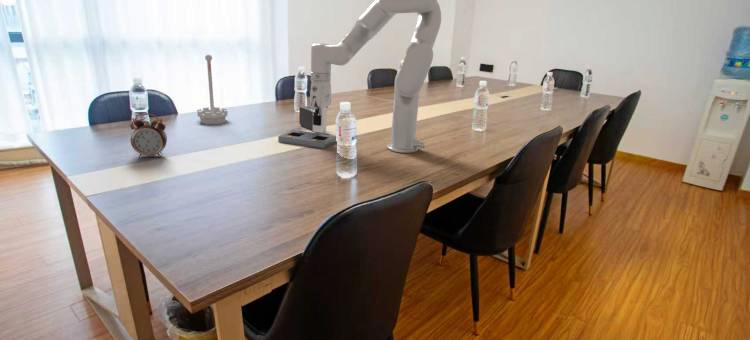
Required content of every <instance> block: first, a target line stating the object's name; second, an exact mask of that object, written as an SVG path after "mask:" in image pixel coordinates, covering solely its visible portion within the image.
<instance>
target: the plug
mask: <svg viewBox="0 0 750 340" xmlns="http://www.w3.org/2000/svg"><path fill="white" fill-rule="evenodd" d="M316 107H318V106H316ZM317 110H318V109H317ZM312 113H313V112H312ZM327 113H328V108H327V107H324V108H321V113H320V115H321V125H320V126H318V125H313V131H312V133H317V132H319V134H323V133H324V132H326V131H327V115H328V114H327Z"/></svg>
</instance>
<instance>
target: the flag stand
mask: <svg viewBox="0 0 750 340" xmlns="http://www.w3.org/2000/svg"><path fill="white" fill-rule="evenodd" d="M204 58H205V60H206V61H207V62H206V63H207V65H206V66H207V67H206V68H207V77H208V78H207V79H208V91H209V104H210V105H209V107H210V108H209V107H203V108H202V109H201V108H197V109H196V113H197V117H198V118H199V121H200V123H201V124H205V125H217V124H223V123H225V122H226V117H227V116H228V110H227V108H226V107H222V108H221V109H220V106H219V107H217V106H215V105H214V89H213V77H212V76H213V75H212V73H213V72H212V62H211V61H212V60H213V56H212V55H211V54H206V55H205V56H204Z"/></svg>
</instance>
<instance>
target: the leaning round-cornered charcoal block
mask: <svg viewBox="0 0 750 340" xmlns="http://www.w3.org/2000/svg"><path fill="white" fill-rule="evenodd" d="M298 111H299V119H298V120H299V125H300V126H301V127H302V128H305V129H307V130H309V131H312V132H313V113H312V110H311V106H305V105H302V106H300V107H299V110H298ZM316 133H319V134H320V132H316Z"/></svg>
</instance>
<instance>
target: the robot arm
mask: <svg viewBox="0 0 750 340" xmlns="http://www.w3.org/2000/svg"><path fill="white" fill-rule="evenodd" d="M397 14H417V20H416V21H417V22H416V24H415V28H414V31H413V33H412V35H411V39H410V41H409V43H408V45H407V47H406V51H405V56H404V59H403V62H402V63H401V64H402V65H401V67H400V70H399V71H397V73H396V75H395V78H394V87H393V88H394V91H393V92H394V93H393V108H392V109H393V110H392V124H391V136H390V137H391V139H390V142H388V143H387V144H386V149H387V150H389V151H392V152H396V153H403V154H406V153H407V154H409V153H414V152H415V153H416V152H418V150H419V148H422V149H426V143H425V142H424V141H419V140H418V137H417V135H416V134H417V122H418V112H419V102H420V99H419V98H420V92H421V90H422V88H423V86H424V83H425V80H426V78H427V75H428V72H429V70H430V68H431V65H432V62H433V59H434V51H433V48H434V46H435V45H434V44H435V42H436V39H437V37H438V34H439V31H440V28H441V23H442V11H441V8H440V3H439V2H438V0H374V1H373V2H372V3H371V5H369V7H368V8H367V9H366V10H365V11H364V12H363V13H362V14H361V15H360V17H359V18H357V20H356V22H355V24H354V26H353V27H352V28H351V29H350V31H349V32H348V33H347V34H346V36H345V37H344V38H342V40H341V41H340V42H339V43H337V44H333V45H331V44H329V43H324V42H322V43H321V42H316V43H315V42H314V43H312V45H311V47H310V48H311V49H310V82H311V83H310V92H309V93H310V94H309V105H310V106H309V107H311V110H312V112H313V125H318V126H320V125H321V115H320V113H321V108H324V107H327V109H328V107H329V106H331V105H332V85H331V75H332V72H331V71H332V65H334V66H343V67H344V66H346V65H347V64H349V63H350V61H351V60H352V59H353V57H355V56H356V55H357V53H358V52H359V51H360V50H361V49H362V48H363V47H365V45H366V44H367V43H368V42H369V41H371V40H372V39H374V38H375V36H377V34H378V33H379V32H380V31H381V30H383V28H384V27H385V26H386V25H387V24H388V22H389V21H390V20H391V19H392V18H394V16H396V15H397ZM316 106H318V107H316ZM317 109H318V110H317Z"/></svg>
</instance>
